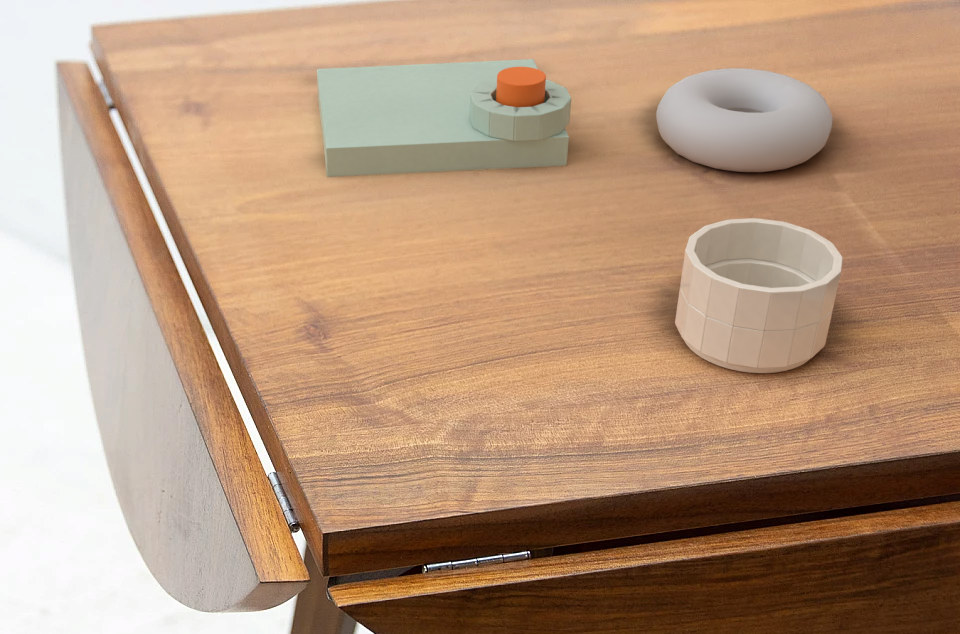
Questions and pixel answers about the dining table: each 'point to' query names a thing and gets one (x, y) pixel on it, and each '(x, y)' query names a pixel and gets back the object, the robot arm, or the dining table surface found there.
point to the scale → (435, 120)
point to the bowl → (757, 294)
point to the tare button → (520, 87)
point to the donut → (744, 120)
